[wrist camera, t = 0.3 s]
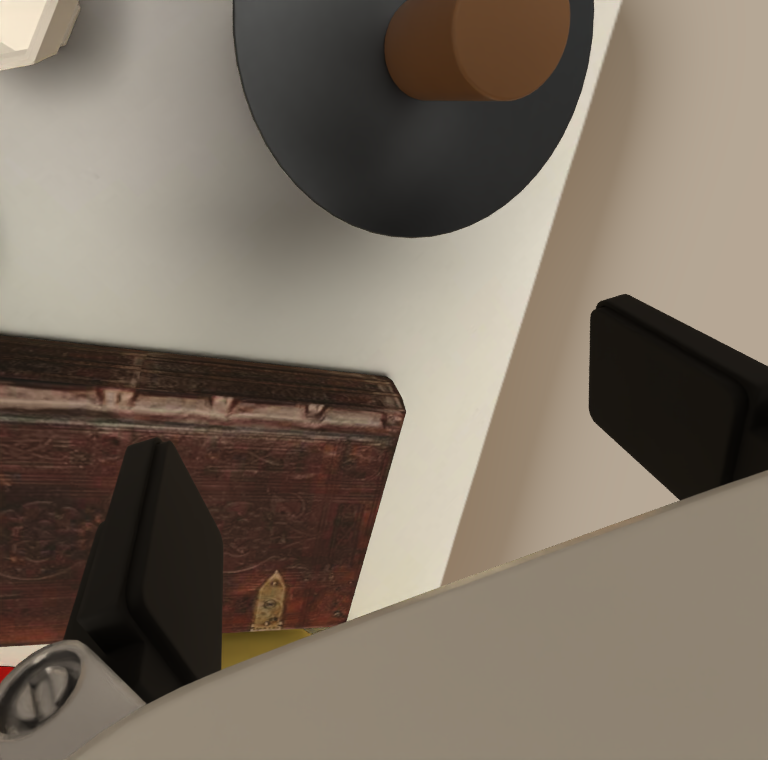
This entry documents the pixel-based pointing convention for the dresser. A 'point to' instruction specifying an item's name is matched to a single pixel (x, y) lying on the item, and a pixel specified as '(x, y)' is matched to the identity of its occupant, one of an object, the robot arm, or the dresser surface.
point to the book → (191, 474)
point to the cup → (34, 29)
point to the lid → (412, 101)
